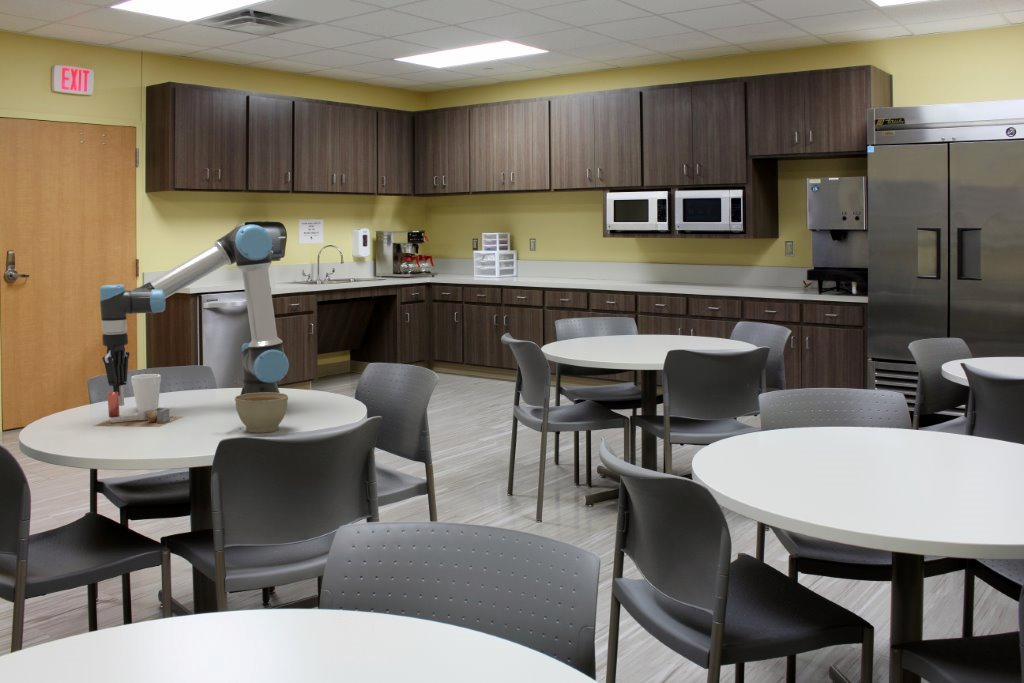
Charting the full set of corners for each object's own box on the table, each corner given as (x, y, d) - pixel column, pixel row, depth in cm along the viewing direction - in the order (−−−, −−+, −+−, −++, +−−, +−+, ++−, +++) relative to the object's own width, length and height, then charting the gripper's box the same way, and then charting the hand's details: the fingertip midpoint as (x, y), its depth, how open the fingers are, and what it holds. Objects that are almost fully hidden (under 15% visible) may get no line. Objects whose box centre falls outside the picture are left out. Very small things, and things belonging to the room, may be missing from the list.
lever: (167, 415, 313) (165, 386, 312) (169, 418, 309) (168, 388, 308) (108, 421, 305) (106, 391, 303) (110, 423, 300) (108, 393, 299)
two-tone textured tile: (169, 421, 306) (169, 408, 305) (163, 423, 301) (162, 411, 301) (163, 420, 306) (163, 408, 305) (157, 423, 302) (156, 411, 301)
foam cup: (168, 411, 330) (166, 375, 329) (147, 416, 322) (146, 378, 321) (148, 409, 334) (146, 373, 333) (127, 414, 326) (125, 377, 325)
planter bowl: (261, 437, 286) (260, 402, 285) (225, 432, 295) (223, 397, 294) (300, 428, 300) (298, 394, 299) (263, 423, 308) (262, 390, 307)
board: (183, 421, 313) (183, 406, 313) (159, 431, 297) (158, 416, 296) (120, 420, 316) (119, 405, 315) (92, 430, 299) (92, 415, 298)
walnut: (161, 421, 306) (160, 410, 305) (155, 423, 302) (155, 412, 302) (150, 421, 306) (150, 410, 306) (145, 423, 302) (144, 412, 302)
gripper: (114, 330, 311) (118, 401, 313) (92, 335, 298) (97, 409, 301) (135, 330, 310) (140, 401, 313) (115, 335, 297) (120, 409, 300)
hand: (119, 405), depth 307 cm, fingers closed
